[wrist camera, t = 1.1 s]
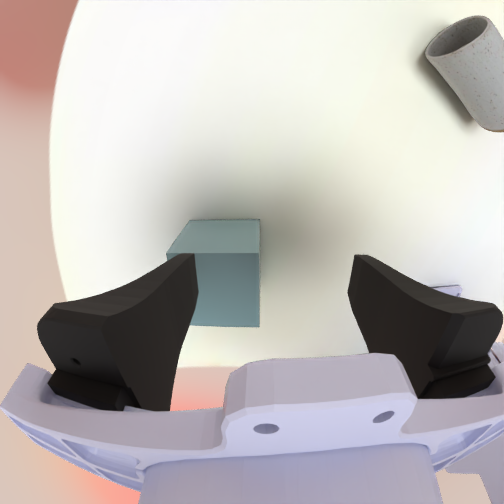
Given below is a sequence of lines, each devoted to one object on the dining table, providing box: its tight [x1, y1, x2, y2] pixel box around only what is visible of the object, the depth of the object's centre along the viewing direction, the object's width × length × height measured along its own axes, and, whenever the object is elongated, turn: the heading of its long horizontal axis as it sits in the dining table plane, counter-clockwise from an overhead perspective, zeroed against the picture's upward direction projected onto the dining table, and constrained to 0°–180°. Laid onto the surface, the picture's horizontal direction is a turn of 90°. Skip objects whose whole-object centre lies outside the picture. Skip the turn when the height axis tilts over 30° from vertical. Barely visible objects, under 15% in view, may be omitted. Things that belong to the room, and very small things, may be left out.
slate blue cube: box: [166, 219, 260, 327], centre depth 20 cm, size 6×6×6 cm
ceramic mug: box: [425, 16, 504, 132], centre depth 10 cm, size 11×8×8 cm
